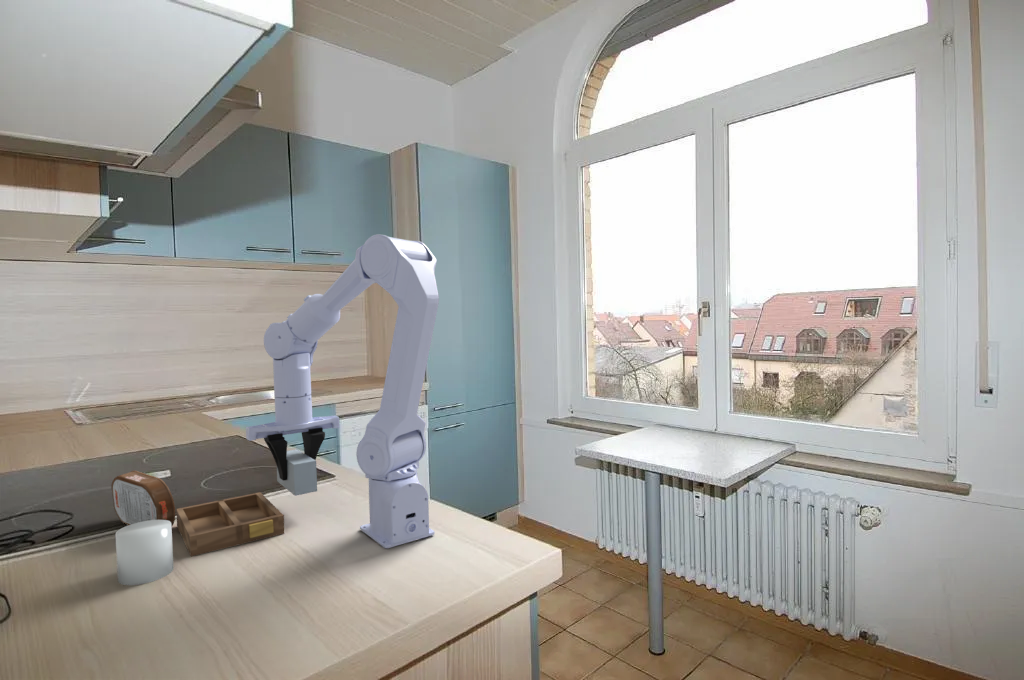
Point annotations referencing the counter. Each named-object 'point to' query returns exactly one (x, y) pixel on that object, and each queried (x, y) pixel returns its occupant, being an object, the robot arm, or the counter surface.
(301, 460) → the grey rectangular block
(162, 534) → the white rounded pillar
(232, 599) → the counter surface
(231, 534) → the tray
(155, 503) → the tin
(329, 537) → the counter surface
